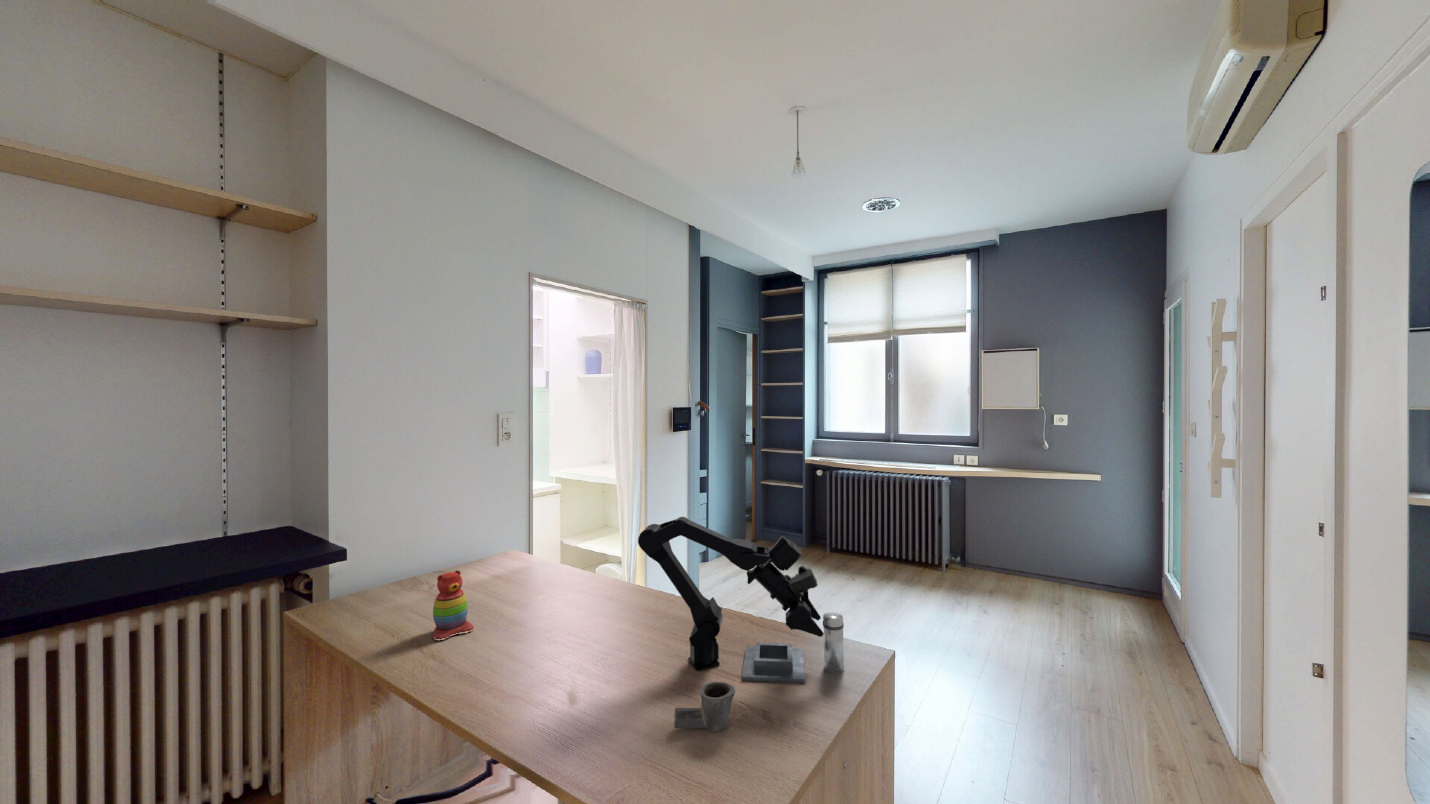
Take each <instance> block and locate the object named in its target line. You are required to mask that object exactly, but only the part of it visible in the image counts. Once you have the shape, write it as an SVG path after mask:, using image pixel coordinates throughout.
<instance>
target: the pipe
mask: <svg viewBox="0 0 1430 804" xmlns="http://www.w3.org/2000/svg"><path fill="white" fill-rule="evenodd" d="M735 693H736V688H735V687H734V686H733V685H732V684H730V683H729V682H724V681H712V682H708V683H705V684H704V685H703V686H701V689H700V691H699V695H700V698H701V707H675V709H674V729H678V730H679V729H684V730H686V729H687V730H688V729H689V730H690V729H691V730H692V729H693V730H694V729H701V730H702V729H706V730H708V731H709V732H710V733H711V732H712V733H717V732H722V731H724V730H725V729H726V728H728V727H729V725H730V723H731V709H732V702H733V699H734V696H735Z"/></svg>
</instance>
